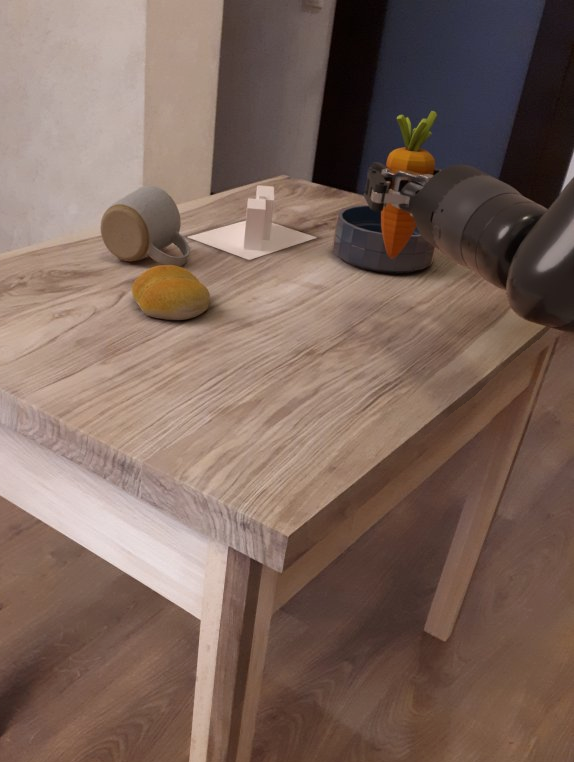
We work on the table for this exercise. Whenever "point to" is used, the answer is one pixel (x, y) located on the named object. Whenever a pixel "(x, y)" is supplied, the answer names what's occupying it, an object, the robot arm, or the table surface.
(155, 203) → the ceramic mug
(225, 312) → the table surface
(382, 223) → the carrot
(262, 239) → the napkin holder
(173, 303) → the bread roll
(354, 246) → the bowl
